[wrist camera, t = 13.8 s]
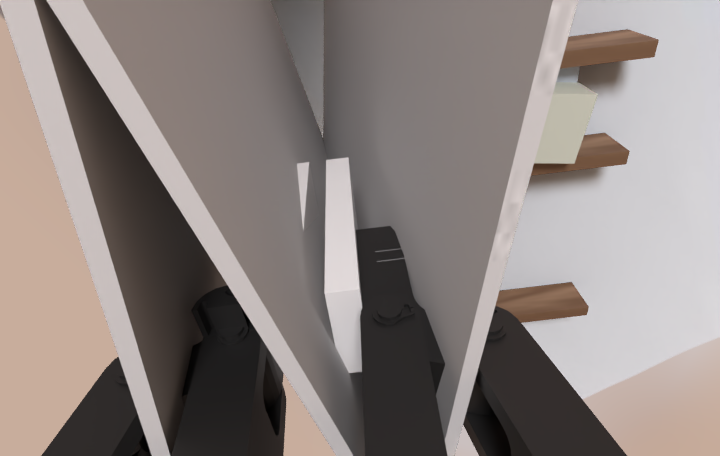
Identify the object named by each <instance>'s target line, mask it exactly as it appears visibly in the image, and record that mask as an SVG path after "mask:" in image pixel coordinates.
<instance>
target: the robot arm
mask: <svg viewBox="0 0 720 456" xmlns="http://www.w3.org/2000/svg"><path fill="white" fill-rule="evenodd" d="M297 169H298V180H299V191H300V202H301V213H302V224H303V232H304V231H305V229H306V228H307V227H308V226H309V225H310V224H311V223H312V222H313V221H314V220H315V219H316V218H317V216H318V215H319V212H318V206H317V201H316V196H315V190H314V185H313V180H312V175H311V169H310V164H309V162H306V163H298V164H297ZM324 294H325V298H326V303H327V308H328V313H329V318H330V323H331V328H332V333H333V338H334V342H335V347H336V349H337V351H338V353H339V354H340V356H341V358H342V360H343V362H344V364H345V366H346V368H347V370H348V372H349V373H354V372H362V385H363V412H364V439H365V456H448V455H447V450H446V445H445V440H444V435H443V429H442V424H441V419H440V414H439V409H438V403H437V398H436V393H437V390H438V387H439V383H440V380H441V377H442V373H443V370H444V367H445V362H444V359H443V356H442V354H441V351H440V348H439V346H438V343H437V341H436V338H435V335H434V333H433V330H432V327H431V325H430V322H429V319H428V317H427V314H426V312H425V309H423V308H422V307H421V306H420V305H419V304H418V303H417V302H416V301H415V298H414V296H413V293H412V288H411V284H410V280H409V275H408V271H407V266H406V262H405V259H404V254H403V251H402V250H401V246H400V243H399V240H398V238H397V235H396V233H395V230H394V229H393V228H392V227H391V226H384V227H376V228H367V229H359V230H358V227H357V218H356V211H355V203H354V195H353V188H352V180H351V173H350V165H349V157H347V158H338V159H330V160H326V210H325V290H324ZM191 311H192V313H193V316H194V318H195V320H196V322H197V325H198V327H199V329H200V331H201V333H202V336H203V340H202V341H201V342H199V343H198V344H196V345H193V347H192V352H191V356H190V361H189V365H188V370H187V375H186V379H185V384H184V388H183V393H182V400H183V404H184V411H183V414H182V418H181V422H180V425H179V429H178V433H177V437H176V440H175V444H174V448H173V452H172V455H171V456H283V449H284V432H285V413H286V396H285V391H284V388H283V385H282V382H283V371H282V370H281V368H280V367H279V365H278V363H277V362H276V360H275V359H274V357H273V356H272V354H271V352H270V351H269V349H268V348H267V346H266V345H265V343H264V341H263V340H262V338H261V337H260V335H259V334H258V332H257V330H256V329H255V327H254V326H253V324H252V323H251V321H250V319H249V318H248V316H247V315H246V313H245V312H244V310H243V308H242V307H241V305H240V304H239V302H238V301H237V299H236V297H235V296H234V294H233V293H232V291H231V290H230V288H229V286H228V285H227V286H223V287H219V288H215V289H214V290H212V291H210V292H208V293H206V294H204V295H203V296H202V297H201V298H200V299H199V300H198V301H197V302H196V303H195V305H194V306H193V308H192V310H191ZM463 425H464V427H465V429H466V431H467V433H468V435H469V437H470V439H471V441H472V442H473V444H474V446H475V448H476V450H477V452H478V454H479V456H627V455H626V454H625V453H624V452H623V450H622V449H621V448H620V447H619V445H618V444H617V443H616V441H615V440H614V439H613V438H612V436H611V435H610V434H609V433H608V431H607V430H606V429H605V428H604V426H603V425H602V424H601V423H600V421H599V420H598V419H597V418H596V416H595V415H594V414H593V413H592V411H591V410H590V409H589V408H588V406H587V405H586V404H585V403H584V401H583V400H582V399H581V397H580V396H579V395H578V394H577V392H576V391H575V390H574V389H573V387H572V386H571V385H570V384H569V382H568V381H567V380H566V379H565V377H564V376H563V375H562V374H561V372H560V371H559V370H558V369H557V367H556V366H555V365H554V364H553V362H552V361H551V360H550V359H549V357H548V356H547V355H546V354H545V352H544V351H543V350H542V349H541V347H540V346H539V345H538V344H537V342H536V341H535V340H534V339H533V337H532V336H531V335H530V334H529V332H528V331H527V330H526V329H525V327H524V326H523V325H522V324H521V322H520V321H519V320H518V319H517V318H516V317H515V316H514V315H513V314H512V313H510V312H509V311H507V310H505V309H503V308H500V307H498V306H495V309H494V312H493V316H492V320H491V323H490V327H489V331H488V334H487V338H486V342H485V346H484V349H483V353H482V357H481V360H480V364H479V368H478V371H477V375H476V379H475V382H474V386H473V390H472V393H471V397H470V401H469V404H468V408H467V412H466V415H465V419H464V423H463ZM42 456H152V455H151V452H150V449H149V446H148V443H147V440H146V437H145V434H144V431H143V428H142V425H141V422H140V419H139V416H138V413H137V410H136V407H135V404H134V401H133V398H132V395H131V392H130V389H129V386H128V383H127V380H126V377H125V374H124V371H123V368H122V365H121V362H120V360H119V357H117V358H116V359H115V360H114V361H113V362H112V363H111V364H110V365H109V366H108V367H107V368H106V369H105V370H104V372H103V373H102V374H101V376H100V377H99V378H98V380H97V381H96V382H95V384H94V385H93V387H92V388H91V390H90V391H89V392H88V393H87V395H86V396H85V398H84V399H83V400H82V402H81V403H80V404H79V406H78V407H77V409H76V410H75V411H74V412H73V414H72V415H71V417H70V418H69V419H68V420H67V422H66V423H65V425H64V426H63V427H62V429H61V430H60V431H59V433H58V434H57V436H56V437H55V438H54V439H53V441H52V442H51V444H50V445H49V446H48V448H47V449H46V450H45V452H44V453H43V454H42Z"/></svg>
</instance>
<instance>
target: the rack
mask: <svg viewBox="0 0 720 456" xmlns="http://www.w3.org/2000/svg"><path fill="white" fill-rule="evenodd" d="M658 41H659V40H658V39H655V38H652V37H649V36H646V35H643V34H640V33H637V32H634V31H631V30H628V29H627V30H619V31H611V32H603V33H595V34H587V35H579V36H571V37H568V40H567V44H566V48H565V51H564V55H563V59H562V62H561V66H560V69H562V68H570V67H578V66H586V65H594V64H602V63H610V62H618V61H626V60H634V59H642V58H650V57H654V56H655V52H656V48H657V45H658ZM628 155H629V150H627V149H626V148H625V147H623V146H622V145H621V144H619V143H618V142H617V141H615V140H614V139H612V138H611V137H610V136H608V135H607V134H606V133H600V134H592V135H584V137H583V140H582V143H581V146H580V149H579V152H578V155H577V157H576V160H575V163H574V164H560V163H534V165H533V169H532V173H531V176H532V175H540V174H548V173H557V172H565V171H573V170H581V169H589V168H598V167H606V166H614V165H622V164H626V163H627V159H628ZM495 306H498V307H500V308H503V309H505V310H507V311H509V312H510V313H512V314H513V315H514V316H515V317H516V318H517V319H518V320H519V321H520V322H521V323H522V322H531V321H539V320H548V319H556V318H565V317H573V316H582V315H587V312H588V308H589V307H588V305H587V304H586V302H585V301H584V299H583V298H582V297H581V295H580V294H579V292H578V291H577V289H576V288H575V286H574V285H573V283H572V282H569V283H561V284H553V285H544V286H536V287H527V288H519V289H510V290H502V291H499V294H498V298H497V301H496V305H495Z"/></svg>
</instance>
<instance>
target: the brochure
mask: <svg viewBox="0 0 720 456" xmlns="http://www.w3.org/2000/svg"><path fill="white" fill-rule="evenodd" d="M577 4H578V0H324V128H323V138H322V135H321V132H320V130H319V127H318V124H317V122H316V119H315V117H314V114H313V111H312V109H311V106H310V103H309V101H308V98H307V95H306V93H305V90H304V88H303V85H302V82H301V80H300V77H299V74H298V72H297V69H296V66H295V64H294V61H293V59H292V56H291V53H290V51H289V48H288V45H287V43H286V40H285V38H284V35H283V32H282V30H281V27H280V24H279V22H278V19H277V16H276V14H275V11H274V9H273V6H272V3H271V1H270V0H0V6H1V9H2V12H3V15H4V18H5V21H6V24H7V26H8V29H9V33H10V35H11V38H12V41H13V44H14V47H15V50H16V53H17V56H18V59H19V62H20V65H21V68H22V71H23V74H24V77H25V80H26V83H27V86H28V89H29V92H30V95H31V98H32V101H33V104H34V107H35V110H36V112H37V116H38V119H39V121H40V124H41V128H42V130H43V134H44V137H45V139H46V143H47V145H48V148H49V151H50V154H51V157H52V160H53V163H54V166H55V169H56V172H57V175H58V178H59V181H60V184H61V187H62V190H63V193H64V196H65V199H66V202H67V205H68V208H69V211H70V214H71V217H72V220H73V223H74V226H75V229H76V232H77V235H78V238H79V241H80V243H81V247H82V250H83V252H84V255H85V258H86V261H87V264H88V267H89V270H90V273H91V276H92V279H93V282H94V285H95V288H96V291H97V294H98V297H99V300H100V303H101V306H102V309H103V312H104V315H105V318H106V321H107V324H108V327H109V330H110V333H111V336H112V339H113V342H114V345H115V347H116V350H117V354H118V357H119V360H120V362H121V365H122V368H123V371H124V374H125V377H126V380H127V383H128V386H129V389H130V392H131V395H132V398H133V401H134V404H135V407H136V410H137V413H138V416H139V419H140V422H141V425H142V428H143V431H144V434H145V437H146V440H147V443H148V446H149V449H150V452H151V455H152V456H171V455H172V452H173V448H174V444H175V440H176V437H177V433H178V429H179V425H180V422H181V418H182V414H183V411H184V404H183V400H182V393H183V388H184V384H185V379H186V375H187V370H188V365H189V361H190V356H191V352H192V347H193V345H196V344H198V343H199V342H201V341H202V340H203V336H202V333H201V331H200V329H199V327H198V325H197V322H196V320H195V318H194V316H193V313H192V311H191V310H192V308H193V306H194V305H195V303H196V302H197V301H198V300H199V299H200V298H201V297H202V296H203V295H204V294H206V293H208V292H210V291H212V290H214V289H215V288H219V287H223V286H227V285H228V286H229V288H230V290H231V291H232V293H233V294H234V296H235V297H236V299H237V301H238V302H239V304H240V305H241V307H242V308H243V310H244V312H245V313H246V315H247V316H248V318H249V319H250V321H251V323H252V324H253V326H254V327H255V329H256V330H257V332H258V334H259V335H260V337H261V338H262V340H263V341H264V343H265V345H266V346H267V348H268V349H269V351H270V352H271V354H272V356H273V357H274V359H275V360H276V362H277V363H278V365H279V367H280V368H281V370H282V371H283V373H284V374H285V376H286V378H287V379H288V381H289V382H290V384H291V385H292V387H293V388H294V390H295V392H296V393H297V395H298V396H299V398H300V400H301V401H302V403H303V404H304V406H305V407H306V409H307V410H308V412H309V414H310V415H311V417H312V418H313V420H314V422H315V423H316V425H317V426H318V428H319V429H320V431H321V433H322V434H323V436H324V437H325V439H326V440H327V442H328V444H329V445H330V447H331V448H332V450H333V451H334V453H335V455H336V456H365V439H364V412H363V385H362V372H354V373H349V372H348V370H347V368H346V366H345V364H344V362H343V360H342V358H341V356H340V354H339V353H338V351H337V349H336V347H335V342H334V338H333V333H332V328H331V323H330V318H329V313H328V308H327V303H326V298H325V294H324V290H325V210H326V160H330V159H338V158H347V157H349V165H350V173H351V180H352V188H353V195H354V203H355V211H356V218H357V227H358V230H359V229H367V228H376V227H384V226H391V227H392V228H393V229H394V230H395V233H396V235H397V238H398V240H399V243H400V246H401V250H402V251H403V254H404V259H405V262H406V266H407V271H408V275H409V280H410V284H411V288H412V293H413V296H414V298H415V301H416V302H417V303H418V304H419V305H420V306H421V307H422V308H423V309H425V312H426V314H427V317H428V319H429V322H430V325H431V327H432V330H433V333H434V335H435V338H436V341H437V343H438V346H439V348H440V351H441V354H442V356H443V359H444V362H445V367H444V370H443V373H442V377H441V380H440V383H439V387H438V390H437V393H436V398H437V403H438V409H439V414H440V419H441V424H442V429H443V435H444V440H445V445H446V450H447V455H448V456H455V452H456V448H457V445H458V441H459V437H460V434H461V430H462V426H463V423H464V419H465V415H466V412H467V408H468V404H469V401H470V397H471V393H472V390H473V386H474V382H475V379H476V375H477V371H478V368H479V364H480V360H481V357H482V353H483V349H484V346H485V342H486V338H487V334H488V331H489V327H490V323H491V320H492V316H493V312H494V309H495V305H496V301H497V298H498V294H499V290H500V287H501V283H502V279H503V276H504V272H505V268H506V265H507V261H508V257H509V254H510V250H511V246H512V243H513V239H514V235H515V232H516V228H517V224H518V220H519V217H520V213H521V209H522V206H523V202H524V198H525V195H526V191H527V187H528V184H529V180H530V176H531V173H532V169H533V165H534V162H535V158H536V154H537V151H538V147H539V143H540V140H541V136H542V132H543V129H544V125H545V121H546V118H547V114H548V110H549V106H550V103H551V99H552V95H553V92H554V88H555V84H556V81H557V77H558V73H559V70H560V66H561V62H562V59H563V55H564V51H565V48H566V44H567V40H568V37H569V33H570V29H571V26H572V22H573V18H574V15H575V11H576V7H577ZM306 162H309V164H310V169H311V175H312V180H313V185H314V190H315V196H316V201H317V206H318V212H319V215H318V216H317V218H316V219H315V220H314V221H313V222H312V223H311V224H310V225H309V226H308V227H307V228H306V229H305V231H304V232H303V224H302V213H301V202H300V191H299V180H298V169H297V164H298V163H306Z"/></svg>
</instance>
